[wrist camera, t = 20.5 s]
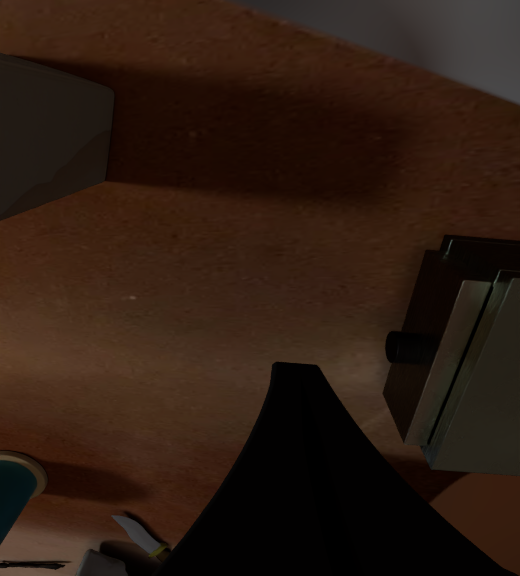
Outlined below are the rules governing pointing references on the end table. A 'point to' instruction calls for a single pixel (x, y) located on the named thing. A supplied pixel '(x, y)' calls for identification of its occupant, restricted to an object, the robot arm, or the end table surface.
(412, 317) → the drawer
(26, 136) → the box
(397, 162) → the end table surface
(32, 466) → the coaster
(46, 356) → the end table surface
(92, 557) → the decorative stone
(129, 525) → the knife
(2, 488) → the bottle
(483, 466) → the cabinet
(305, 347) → the end table surface
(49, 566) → the stick
